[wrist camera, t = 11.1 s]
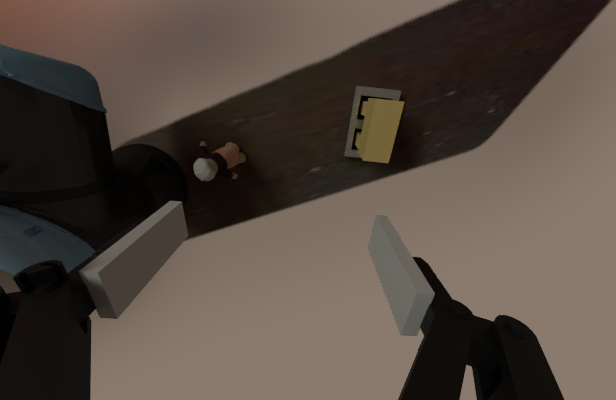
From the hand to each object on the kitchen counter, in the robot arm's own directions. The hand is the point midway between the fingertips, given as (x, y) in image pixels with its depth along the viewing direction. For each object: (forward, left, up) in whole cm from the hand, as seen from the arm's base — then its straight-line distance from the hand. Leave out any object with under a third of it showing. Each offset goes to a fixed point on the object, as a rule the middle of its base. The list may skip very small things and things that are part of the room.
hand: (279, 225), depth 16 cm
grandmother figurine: (-13, -3, -28) cm, 32 cm away
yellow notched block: (+11, +5, -28) cm, 31 cm away
